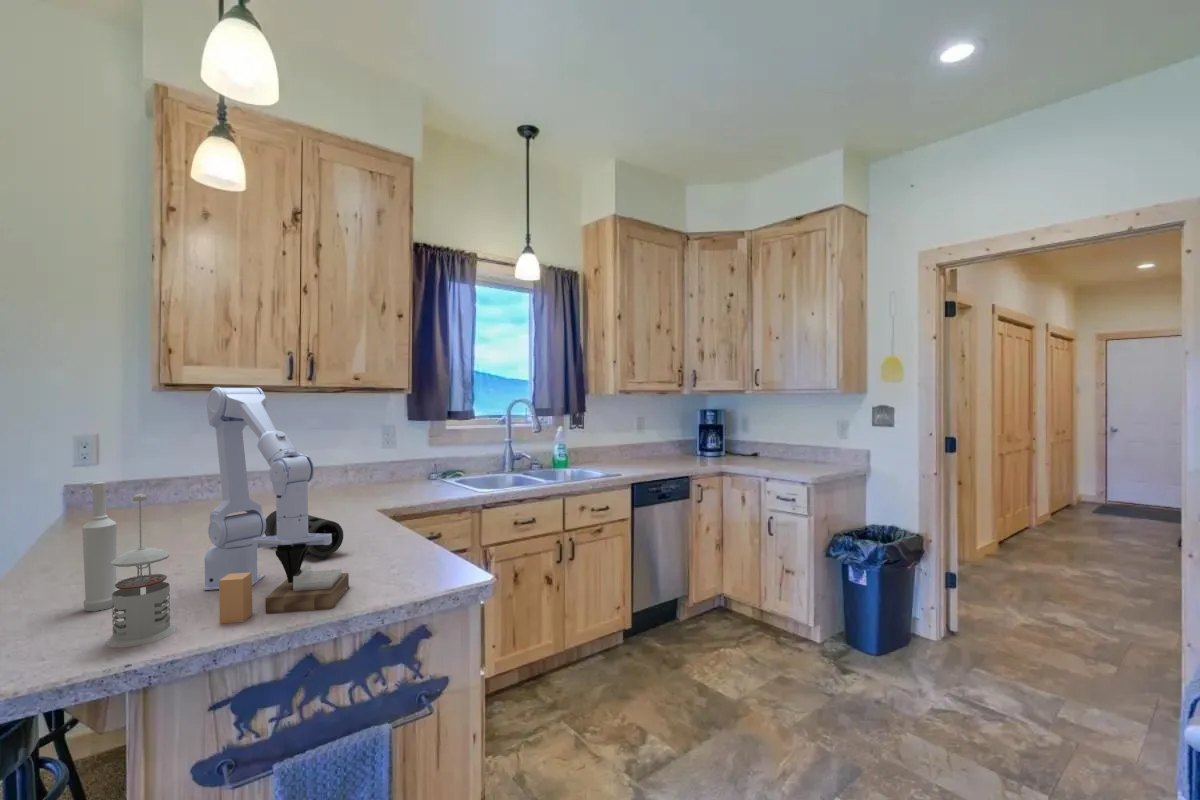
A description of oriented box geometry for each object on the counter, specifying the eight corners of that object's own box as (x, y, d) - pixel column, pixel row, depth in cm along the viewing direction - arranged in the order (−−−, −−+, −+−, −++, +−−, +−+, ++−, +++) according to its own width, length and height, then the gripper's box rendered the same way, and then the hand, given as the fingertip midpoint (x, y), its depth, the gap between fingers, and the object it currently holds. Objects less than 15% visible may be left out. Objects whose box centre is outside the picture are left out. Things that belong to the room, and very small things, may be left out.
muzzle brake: (308, 564, 141) (307, 523, 141) (260, 547, 158) (259, 510, 158) (345, 555, 148) (344, 516, 148) (295, 540, 165) (295, 505, 165)
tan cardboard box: (219, 623, 104) (219, 580, 104) (229, 615, 108) (229, 573, 108) (243, 621, 105) (242, 578, 105) (252, 613, 109) (251, 572, 109)
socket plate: (265, 613, 109) (265, 597, 109) (289, 590, 121) (289, 576, 121) (331, 608, 111) (331, 593, 111) (348, 586, 124) (348, 572, 124)
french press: (101, 653, 92) (99, 501, 92) (110, 629, 102) (107, 491, 102) (176, 637, 98) (174, 494, 98) (177, 616, 108) (175, 486, 107)
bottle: (115, 600, 116) (113, 480, 116) (120, 606, 113) (118, 482, 113) (81, 608, 112) (79, 483, 112) (86, 614, 109) (84, 485, 109)
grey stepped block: (293, 591, 112) (293, 576, 112) (306, 578, 120) (306, 564, 120) (330, 588, 113) (330, 573, 113) (341, 576, 121) (341, 562, 121)
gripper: (245, 521, 110) (246, 590, 110) (324, 517, 113) (325, 584, 113) (259, 513, 117) (260, 578, 117) (334, 510, 120) (335, 574, 120)
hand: (293, 581), depth 116 cm, fingers closed
